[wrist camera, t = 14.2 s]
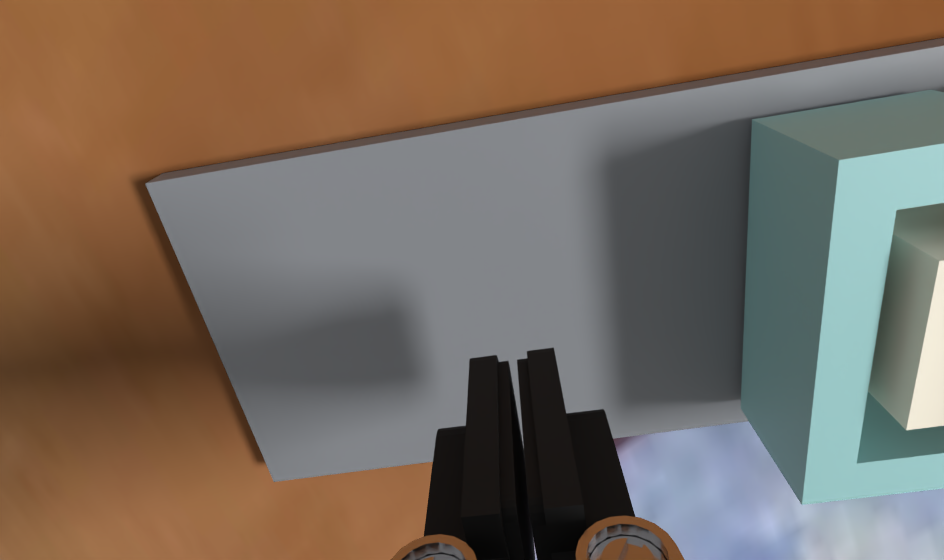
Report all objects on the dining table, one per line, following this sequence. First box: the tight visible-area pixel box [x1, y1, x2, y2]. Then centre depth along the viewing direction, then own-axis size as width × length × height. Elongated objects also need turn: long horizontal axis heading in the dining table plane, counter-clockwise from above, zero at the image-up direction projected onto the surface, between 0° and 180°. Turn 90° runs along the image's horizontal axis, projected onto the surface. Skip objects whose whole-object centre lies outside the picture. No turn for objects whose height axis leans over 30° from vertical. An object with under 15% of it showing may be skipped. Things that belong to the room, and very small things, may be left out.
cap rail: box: [145, 38, 944, 482], centre depth 13 cm, size 22×9×4 cm, turn 100°
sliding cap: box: [741, 90, 944, 505], centre depth 12 cm, size 4×8×3 cm, turn 10°
